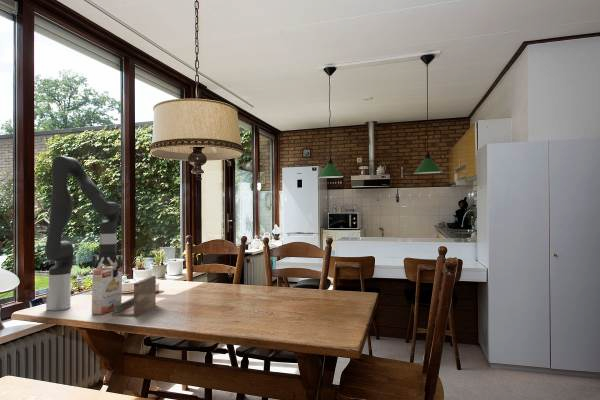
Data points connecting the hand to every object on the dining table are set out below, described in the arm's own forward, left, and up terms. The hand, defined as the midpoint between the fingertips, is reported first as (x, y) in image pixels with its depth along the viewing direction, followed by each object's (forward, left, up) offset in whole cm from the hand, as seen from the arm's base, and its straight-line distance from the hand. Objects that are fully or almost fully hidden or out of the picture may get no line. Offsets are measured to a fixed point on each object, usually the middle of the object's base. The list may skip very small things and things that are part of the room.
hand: (107, 277), depth 180 cm
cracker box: (0, 0, -17) cm, 17 cm away
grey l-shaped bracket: (+13, +1, -16) cm, 21 cm away
